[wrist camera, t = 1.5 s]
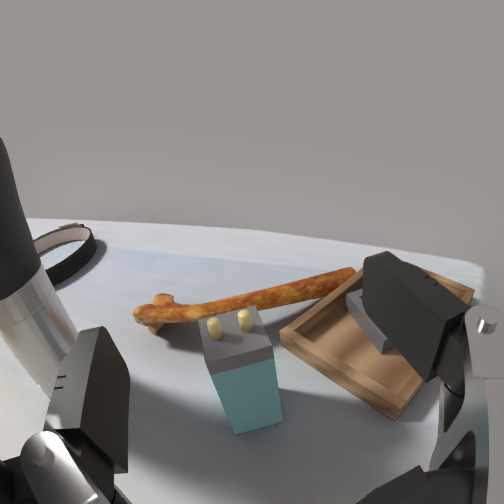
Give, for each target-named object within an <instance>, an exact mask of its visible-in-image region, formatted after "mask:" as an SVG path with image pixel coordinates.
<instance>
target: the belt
mask: <svg viewBox="0 0 504 504" xmlns="http://www.w3.org/2000/svg"><path fill="white" fill-rule="evenodd" d="M70 225H71V226H70ZM65 226H66V227H65ZM62 227H63V228H62ZM74 240H86V241H85V243H84V244H83V245H82V246H81V247H80V248H79V249H78V250H76V251H75V252H74V253H73V254H72V255H70V256H69V257H67V258H66V259H64V260H63V261H61V262H60V263H58V264H56V265H55V266H53V267H51V268H49V269H47V270H45V271H46V273H47V275H48V277H49V279H50V281H51V283H52V285H53V286H54V285H56V284H58V283H60V282H62V281H64V280H65V279H67V278H68V277H70V276H71V275H73V274H74V273H76V272H77V271H78V270H79V269H81V268H82V267H83V266H84V265H85V264H86V263H87V262H88V261H89V260H90V259H91V257H92V256H93V254H94V253H95V251H96V242H95V240H94V237H93V234H92V232H91V229H89V228H88V227H84V224H78V223H77V222H74V223H69V224H65V225H61V226H59V229H56V230H54V231H51V232H49V233H47V234H44V235H42V236H40V237H39V238H37V239H35V240H33V242H34V245H35V248H36V251H37V253H38V254H40V253H41V252H43V251H45V250H47V249H49V248H51V247H53V246H56V245H58V244H61V243H65V242H69V241H74Z"/></svg>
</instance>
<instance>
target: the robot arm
mask: <svg viewBox="0 0 504 504" xmlns="http://www.w3.org/2000/svg"><path fill="white" fill-rule="evenodd" d="M362 303H363V307H364V310H365V312H366V314H367V316H368V317H369V318H370V319H371V320H372V321H373V322H374V324H375V325H376V326H377V327H378V328H379V329H380V330H381V332H382V333H383V334H384V335H385V336H386V337H387V338H388V340H389V341H390V342H391V343H392V344H393V345H394V346H395V348H396V349H397V350H398V351H399V352H400V353H401V355H402V356H403V357H404V358H405V359H406V360H407V362H408V363H409V364H410V365H411V366H412V368H413V369H414V370H415V371H416V372H417V373H418V375H419V376H420V377H421V378H422V379H423V381H424V382H425V383H426V382H428V381H430V380H432V379H433V378H435V377H437V376H439V377H440V378H441V379H442V381H441V383H440V396H439V424H438V438H437V443H436V446H435V449H434V451H433V454H432V457H431V461H430V466H429V471H428V472H423V470H422V468H421V467H420V465H418V466H417V467H415V468H413V469H412V470H410V471H408V472H406V473H405V474H403V475H401V476H399V477H397V478H395V479H394V480H392V481H390V482H388V483H386V484H384V485H382V486H380V487H378V488H376V489H375V490H373V491H372V492H371V493H369V494H368V495H367V496H366V497H364V498H363V499H362V500H360V501H359V502H358V503H356V504H504V314H503V313H502V312H501V311H500V310H498V309H496V308H494V307H491V306H487V305H478V306H474V307H472V308H471V307H470V306H468V305H467V304H466V303H465V302H463V301H462V300H461V299H460V298H458V297H457V296H456V295H455V294H453V293H452V292H451V291H450V290H448V289H447V288H446V287H444V286H443V285H442V284H439V282H438V281H437V280H435V279H434V278H433V277H430V275H429V274H427V273H426V272H425V271H423V270H422V269H421V268H419V267H417V266H415V265H412V264H410V263H407V262H403V261H401V260H400V259H399V258H397V257H396V256H395V255H393V254H392V253H390V252H388V251H385V252H382V253H379V254H376V255H372V256H369V257H366V258H365V260H364V263H363V288H362ZM0 335H1V336H2V338H3V339H4V341H5V342H6V344H7V345H8V347H9V348H10V349H11V351H12V352H13V354H14V355H15V356H16V358H17V359H18V360H19V362H20V363H21V364H22V366H23V367H24V368H25V370H26V371H27V372H28V373H29V375H30V376H31V377H32V378H33V380H34V381H35V382H36V383H37V385H38V386H39V387H40V388H41V389H42V391H43V392H44V393H45V394H46V395H47V396H48V397H49V398H50V403H49V407H48V411H47V415H46V420H45V424H44V429H43V432H40V433H37V434H35V435H33V436H32V437H30V438H29V439H28V440H27V441H26V443H25V444H24V446H23V448H22V450H21V454H20V456H18V457H15V458H11V459H8V460H5V461H1V460H0V504H132V503H131V502H130V501H129V500H128V498H127V497H126V496H125V495H124V494H123V493H122V492H121V490H120V489H119V488H118V487H117V486H116V485H115V484H114V474H120V473H128V412H129V391H130V376H129V371H128V368H127V365H126V363H125V361H124V359H123V358H122V356H121V354H120V352H119V351H118V349H117V347H116V345H115V344H114V342H113V340H112V338H111V336H110V334H109V332H108V331H107V329H106V328H105V327H103V326H101V327H97V328H92V329H87V330H83V331H80V332H79V333H78V331H77V329H76V328H75V326H74V324H73V323H72V321H71V319H70V317H69V315H68V314H67V312H66V310H65V308H64V306H63V305H62V303H61V301H60V299H59V297H58V295H57V293H56V291H55V289H54V287H53V285H52V283H51V281H50V279H49V277H48V275H47V273H46V271H45V269H44V267H43V265H42V262H41V260H40V258H39V255H38V253H37V251H36V248H35V245H34V242H33V239H32V236H31V232H30V230H29V227H28V224H27V221H26V218H25V216H24V213H23V210H22V207H21V203H20V200H19V196H18V192H17V189H16V184H15V180H14V176H13V172H12V168H11V164H10V160H9V157H8V153H7V150H6V147H5V145H4V143H3V141H2V139H1V138H0Z"/></svg>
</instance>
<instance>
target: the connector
mask: <svg viewBox="0 0 504 504" xmlns="http://www.w3.org/2000/svg"><path fill="white" fill-rule="evenodd" d="M198 323H199V329H200V335H201V341H202V346H203V352H204V358H205V363H206V365H207V368H208V371H209V373H210V376H211V378H212V381H213V383H214V386H215V388H216V390H217V393H218V395H219V398H220V400H221V402H222V405H223V407H224V410H225V412H226V414H227V417H228V419H229V421H230V423H231V426H232V428H233V430H234V432H235V435H236V434H240V433H244V432H248V431H252V430H256V429H259V428H263V427H266V426H270V425H273V424H277V423H280V422H283V416H282V409H281V402H280V395H279V389H278V382H277V375H276V368H275V361H274V354H273V348H272V344H271V341H270V339H269V337H268V334H267V332H266V330H265V327H264V325H263V322H262V320H261V318H260V315H259V313H258V311H257V308H256V306H255V305H254V306H250V307H247V308H243V309H239V310H235V311H231V312H227V313H223V314H219V315H215V316H211V317H207V318H203V319H199V320H198Z"/></svg>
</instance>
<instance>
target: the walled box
mask: <svg viewBox="0 0 504 504" xmlns="http://www.w3.org/2000/svg"><path fill="white" fill-rule="evenodd" d="M401 261H402V260H401ZM403 262H404V261H403ZM419 268H420V267H419ZM421 269H422V268H421ZM422 270H423V271H425V272H426V273H427V274H429V275H430V277H433V278H434V279H435V280H437V281H438V282H439V284H442V285H443V286H444V287H446V288H447V289H448V290H450V291H451V292H452V293H453V294H455V295H456V296H457V297H458V298H460V299H461V300H462V301H463V302H465V303H466V304H467V305H468V306H470V304H471V301H472V297H473V294H474V291H475V290H474V289H472V288H469V287H467V286H464V285H462V284H460V283H457V282H455V281H452V280H450V279H447V278H445V277H442V276H440V275H438V274H435V273H433V272H430V271H427V270H425V269H422ZM362 288H363V268H362V269H360V270H359V271H358V272H357V273H355V274H354V275H353V276H352V277H350V278H349V279H348V280H347V281H345V282H344V283H343V284H341V285H340V286H339V287H338V288H336V289H335V290H334V291H333V292H331V293H330V294H329V295H327V296H326V297H325V298H323V299H322V300H321V301H319V302H318V303H317V304H315V305H314V306H313V307H312V308H310V309H309V310H307V311H306V312H305V313H303V314H302V315H301V316H299V317H298V318H297V319H295V320H294V321H293V322H291V323H290V324H288V325H287V326H286V327H284V328H283V329H281V330H280V331H279V333H280V342H281V345H282V346H283V347H284V348H286V349H287V350H289V351H290V352H291V353H293V354H294V355H296V356H297V357H299V358H300V359H301V360H303V361H304V362H306V363H307V364H309V365H310V366H312V367H313V368H315V369H316V370H317V371H319V372H320V373H322V374H323V375H325V376H326V377H328V378H329V379H331V380H332V381H334V382H335V383H337V384H338V385H340V386H341V387H343V388H344V389H346V390H347V391H349V392H350V393H352V394H354V395H355V396H357V397H358V398H360V399H361V400H363V401H364V402H366V403H368V404H369V405H371V406H372V407H374V408H375V409H377V410H379V411H380V412H382V413H383V414H385V415H387V416H388V417H390V418H391V419H393V420H396V419H397V418H398V417H399V415H400V414H401V413H402V411H403V410H404V409H405V408H406V406H407V405H408V404H409V402H410V401H411V400H412V398H413V397H414V396H415V394H416V393H417V391H418V390H419V389H420V387H421V386H422V384H423V383H424V381H423V379H422V378H421V377H420V376H419V375H418V373H417V372H416V371H415V370H414V369H413V368H412V366H411V365H410V364H409V363H408V362H407V360H406V359H405V358H404V357H403V356H402V355H401V353H400V352H399V351H398V350H397V349H396V348H395V349H393V350H391V351H388V352H386V353H384V354H382V355H381V354H380V353H379V351H378V350H377V349H376V347H375V346H374V345H373V343H372V342H371V341H370V339H369V338H368V337H367V335H366V334H365V333H364V332H363V330H362V329H361V328H360V326H359V325H358V324H357V322H356V321H355V320H354V319H353V317H352V316H351V315H350V313H349V312H348V311H347V310H346V294H348V293H351V292H354V291H357V290H360V289H362Z"/></svg>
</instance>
